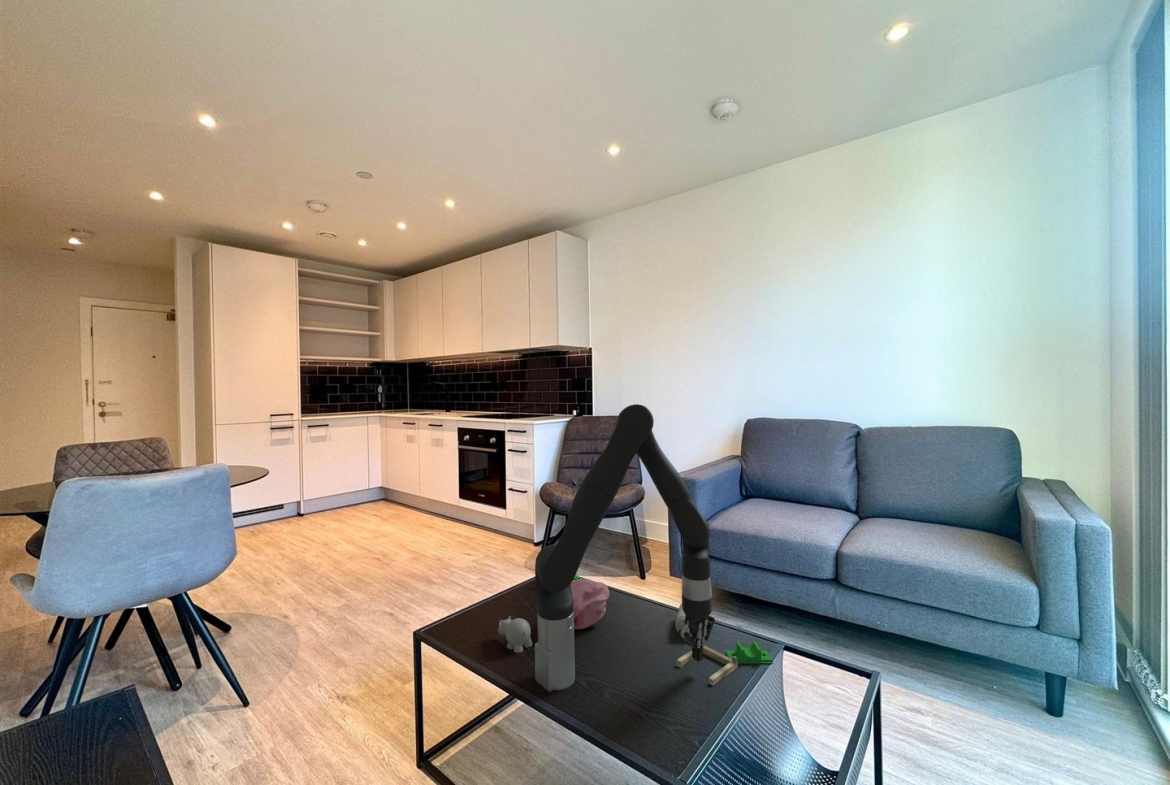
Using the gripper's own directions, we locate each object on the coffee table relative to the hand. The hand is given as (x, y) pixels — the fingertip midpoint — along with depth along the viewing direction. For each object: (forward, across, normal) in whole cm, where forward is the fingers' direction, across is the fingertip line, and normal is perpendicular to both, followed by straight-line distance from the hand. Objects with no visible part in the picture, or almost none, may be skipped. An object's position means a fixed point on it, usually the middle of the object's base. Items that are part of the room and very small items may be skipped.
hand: (697, 659), depth 116 cm
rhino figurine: (+4, -29, +44) cm, 52 cm away
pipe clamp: (+1, +17, -1) cm, 17 cm away
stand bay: (+4, +4, 0) cm, 6 cm away
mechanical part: (+4, +8, +65) cm, 66 cm away
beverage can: (+1, +22, +19) cm, 29 cm away
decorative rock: (+4, -7, +39) cm, 40 cm away
